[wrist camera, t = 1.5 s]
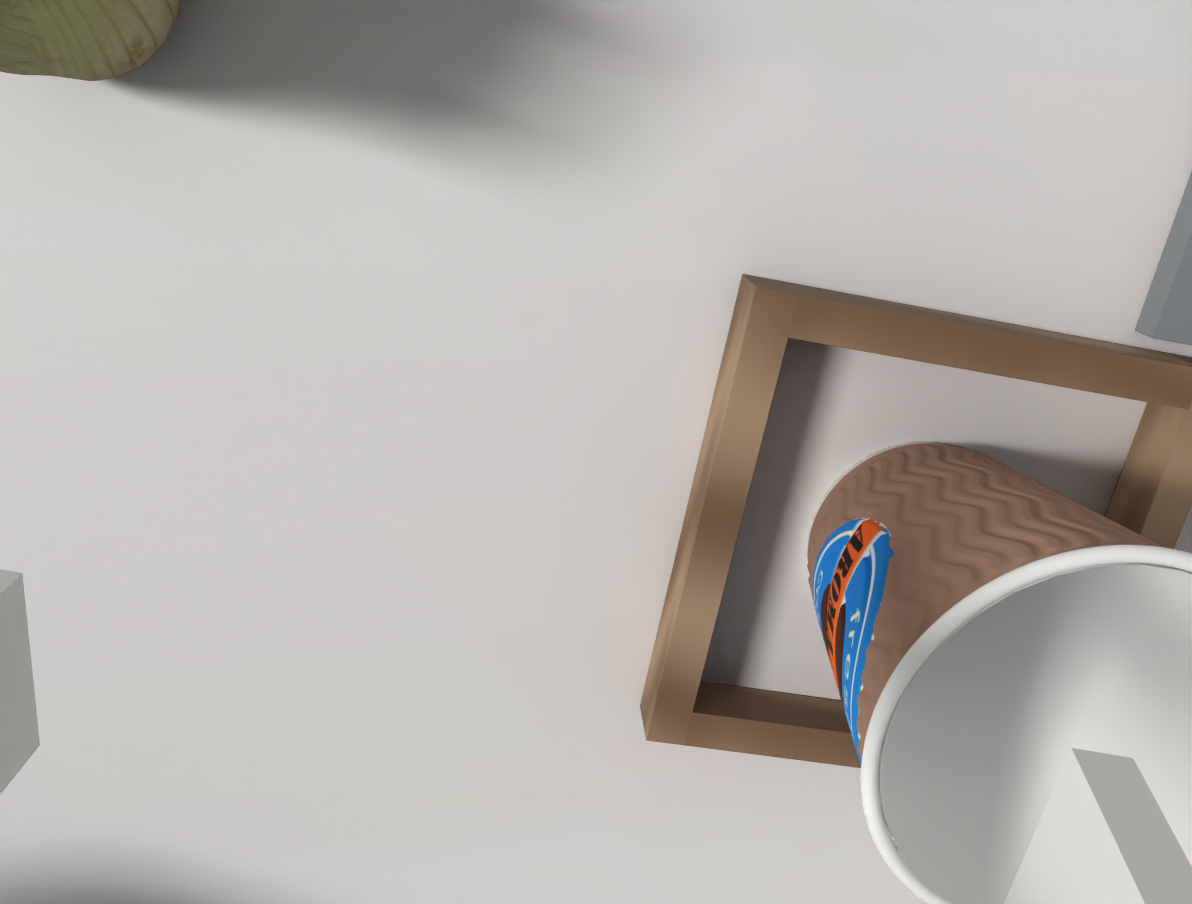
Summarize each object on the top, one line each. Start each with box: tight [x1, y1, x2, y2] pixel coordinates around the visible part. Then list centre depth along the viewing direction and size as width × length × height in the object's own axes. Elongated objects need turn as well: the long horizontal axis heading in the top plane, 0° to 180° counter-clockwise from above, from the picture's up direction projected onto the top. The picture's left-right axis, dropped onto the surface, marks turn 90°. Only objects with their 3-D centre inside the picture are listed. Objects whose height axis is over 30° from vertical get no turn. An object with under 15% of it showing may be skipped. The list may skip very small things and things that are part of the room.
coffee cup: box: [807, 442, 1192, 904], centre depth 30 cm, size 10×10×12 cm
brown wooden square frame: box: [640, 274, 1192, 768], centre depth 35 cm, size 15×15×2 cm
